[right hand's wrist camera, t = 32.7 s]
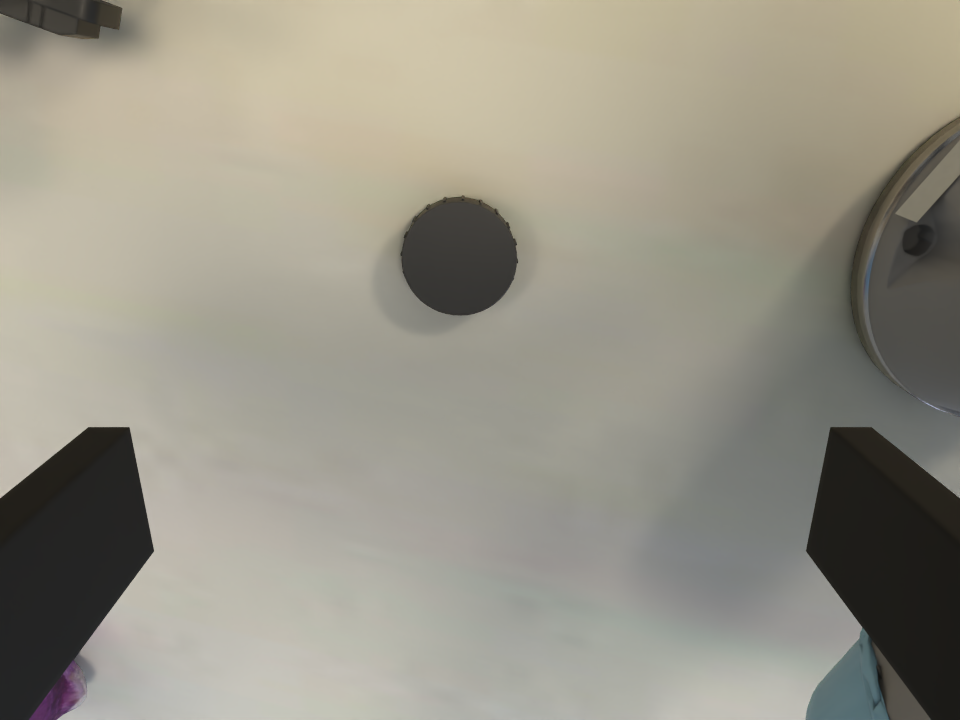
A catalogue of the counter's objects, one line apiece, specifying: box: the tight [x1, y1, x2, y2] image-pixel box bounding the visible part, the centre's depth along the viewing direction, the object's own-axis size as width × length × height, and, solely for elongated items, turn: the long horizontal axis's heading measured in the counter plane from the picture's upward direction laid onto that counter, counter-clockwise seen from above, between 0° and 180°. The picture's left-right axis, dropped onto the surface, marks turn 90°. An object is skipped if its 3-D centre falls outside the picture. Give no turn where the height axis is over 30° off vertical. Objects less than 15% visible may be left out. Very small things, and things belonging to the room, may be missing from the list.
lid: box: [401, 196, 518, 315], centre depth 31 cm, size 5×5×2 cm
